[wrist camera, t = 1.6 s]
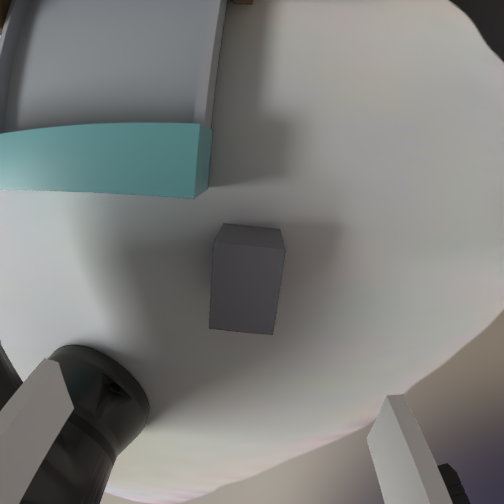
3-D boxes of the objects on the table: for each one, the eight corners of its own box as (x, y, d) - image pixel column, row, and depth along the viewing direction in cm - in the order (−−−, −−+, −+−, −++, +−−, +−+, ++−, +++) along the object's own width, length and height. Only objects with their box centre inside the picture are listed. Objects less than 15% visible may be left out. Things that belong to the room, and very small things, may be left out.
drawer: (207, 188, 26) (193, 198, 21) (2, 181, 26) (-34, 190, 20) (236, -40, 19) (232, -75, 14) (31, -5, 19) (2, -20, 13)
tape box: (270, 300, 30) (272, 334, 24) (217, 295, 30) (208, 328, 24) (280, 229, 28) (285, 249, 22) (223, 223, 28) (213, 242, 22)
